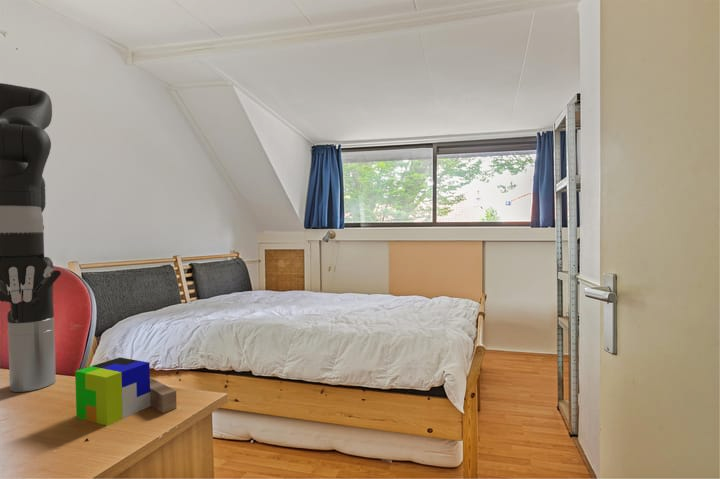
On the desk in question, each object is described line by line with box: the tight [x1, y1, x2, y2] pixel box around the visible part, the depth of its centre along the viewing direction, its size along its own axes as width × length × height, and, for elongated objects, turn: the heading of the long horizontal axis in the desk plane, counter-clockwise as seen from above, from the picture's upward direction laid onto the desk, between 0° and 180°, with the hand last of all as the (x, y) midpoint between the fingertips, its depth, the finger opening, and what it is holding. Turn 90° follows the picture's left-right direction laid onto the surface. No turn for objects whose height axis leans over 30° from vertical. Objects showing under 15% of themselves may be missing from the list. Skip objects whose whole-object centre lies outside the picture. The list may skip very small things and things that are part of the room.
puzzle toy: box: [74, 356, 152, 426], centre depth 88 cm, size 10×10×10 cm
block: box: [150, 377, 178, 414], centre depth 95 cm, size 20×3×4 cm, turn 51°
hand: (21, 321), depth 76 cm, fingers closed
